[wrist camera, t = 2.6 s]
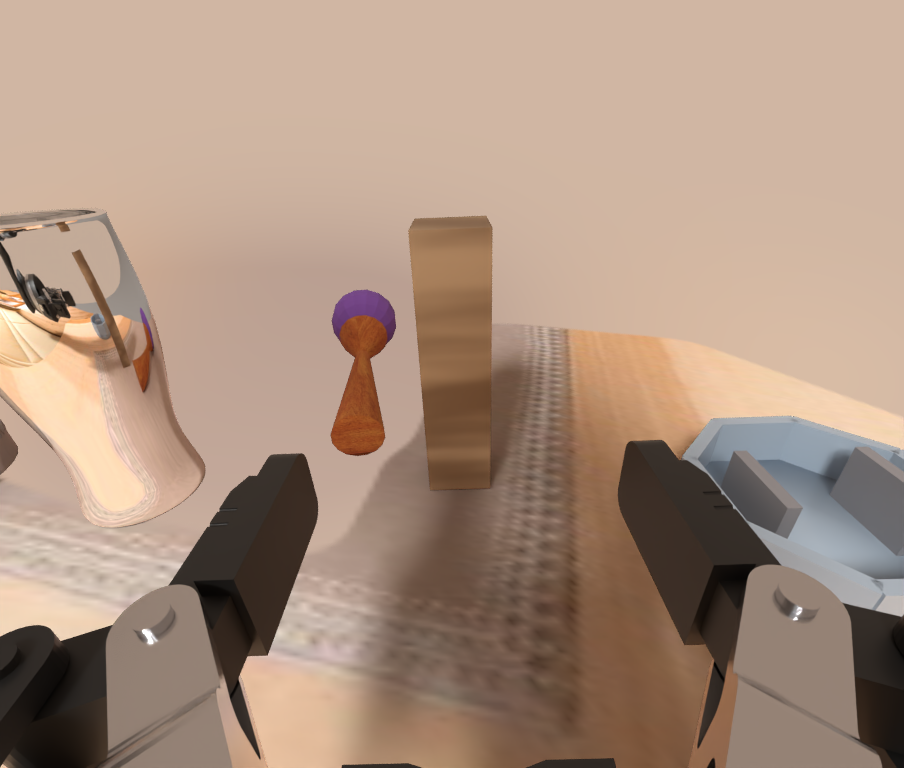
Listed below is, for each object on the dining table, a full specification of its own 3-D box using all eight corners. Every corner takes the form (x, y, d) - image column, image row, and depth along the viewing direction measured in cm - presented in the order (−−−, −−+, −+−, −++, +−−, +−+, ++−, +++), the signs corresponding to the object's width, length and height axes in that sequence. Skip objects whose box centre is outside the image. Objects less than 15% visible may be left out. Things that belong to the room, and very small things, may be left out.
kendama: (291, 412, 25) (325, 289, 41) (329, 480, 28) (347, 341, 44) (390, 385, 25) (384, 274, 41) (416, 457, 28) (401, 327, 45)
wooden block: (490, 488, 24) (492, 227, 17) (430, 490, 24) (408, 230, 17) (485, 450, 27) (486, 215, 20) (432, 452, 27) (414, 218, 20)
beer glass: (182, 528, 22) (32, 226, 15) (42, 541, 22) (-183, 237, 14) (231, 447, 28) (143, 204, 21) (122, 456, 28) (-7, 211, 20)
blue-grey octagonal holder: (1044, 651, 15) (1126, 579, 13) (756, 658, 15) (795, 588, 14) (823, 464, 24) (852, 406, 22) (643, 470, 25) (656, 412, 23)
